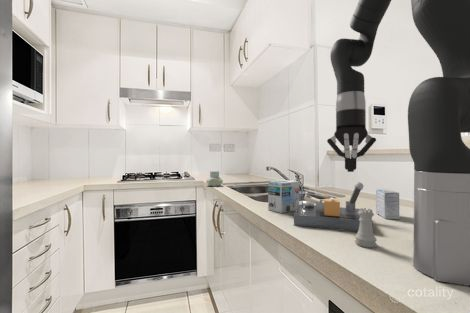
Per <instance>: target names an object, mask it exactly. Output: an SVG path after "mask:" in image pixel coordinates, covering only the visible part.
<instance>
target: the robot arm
mask: <svg viewBox="0 0 470 313" xmlns="http://www.w3.org/2000/svg"><path fill="white" fill-rule="evenodd" d="M410 1H411V2H410V3H411V15H412V19H413V20H412V21H413V23H414V26H415V27H416V29H417V31H418V33H419V34H420V35H421V37H422V38H423V39H424V40H425V42H426V43H427V45H428V46H429V48H430V49H431V50H432V51H433V53H434V54H435V56H436V57H437V59H438V61H439V63H440V67H441V72H442V76H435V77H430V78H426V79H425V80H423V81H422V82H420V83H419V84H418V85H417V86H416V87H415V88H414V89H413V92H412V93H411V96H410V98H409V100H408V107H407V130H408V145H409V146H408V147H409V148H408V149H409V154H410V156H411V158H412V161H413V167H414V168H413V169H414V170H413V241H412V242H413V252H412V254H413V259H412V260H413V261H412V262H413V267H415V269H416V270H417V271H419V272H420V273H423V274H424V275H427V276H428V277H431V278H433V279H434V280H435V281H437V282H444V283H449V284H456V285H462V284H463V286H469V285H470V147H468V146H467V145H466V144H465V143H464V141H463V139H462V133H463V134H464V133H467V134H468V133H470V0H410ZM391 2H392V0H358V2H357V5H356V7H355V9H354V12H353V14H352V17H351V19H350V23H349V27H350V29H351V30H352V31H354V32H356V33H358V34H359V38H358V39H355V38H339V39H337V40H336V41H335V42H334V43H333V45H332V47H331V49H330V56H329V57H330V61H331V62H330V63H331V67H332V68H333V70H332V71H333V73H334V76H335V80H336V95H337V96H336V101H335V111H336V112H335V120H336V121H335V131H334V133H333V135H332V136H330V138H327V140H326V142H327V144H328V145H329V146H330V147H331V149H333V151H334V152H335V153H336V154H337V155H338V156H339V157H342V158H344V169H345V170H346V171H347V172H348V173H349V172H350V173H353V172H354V171H356V170H357V159H358V158H360V157H363V156H364V155H365V154H366V153H367V151H369V149H370V148H371V147H372V146H373V145H374V143H376V141H377V139H376V137H373V136H371V135H370V134H369V133H368V130H367V128H366V119H367V118H366V113H367V112H366V96H365V76H364V74H363V72H361V71H358V70H355V69H354V68H353V67H362V66H363V65H365V64H366V63H367V62H368V61H369V59H370V58H371V55H372V52H373V49H374V43H375V40H376V36H377V33H378V28H379V25H380V24H381V22H382V20H383V18H384V16H385V14H386V12H387V10H388V8H389V7H390V4H391ZM364 140H365V141H364ZM337 141H338V142H339V143H340V145H341V146H342V147H343V150H341V149H340V148H339V147H338V146H337ZM363 141H364V143H365V145H364V146H363V147H362V148H361V149H360V150H359V151H358V148H359V146H360V145H361V144H362V142H363ZM350 148H351V150H350ZM343 151H344V152H343ZM350 152H351V153H350Z"/></svg>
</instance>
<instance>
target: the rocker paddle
mask: <svg viewBox="0 0 470 313" xmlns="http://www.w3.org/2000/svg"><path fill="white" fill-rule="evenodd" d="M303 200H304V201H310V202H313V203H314V205H316V202H324V201H322V200H323V199H322V200H319V198H317V197H313V196H312V195H311V194H305V195H304V197H303Z"/></svg>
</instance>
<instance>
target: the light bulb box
mask: <svg viewBox="0 0 470 313" xmlns="http://www.w3.org/2000/svg"><path fill="white" fill-rule="evenodd" d="M300 184H301V182H300V181H298V180H292V179H291V180H290V179H289V180H288V179H282V180H270V181H268V190H267V192H268V195H267V196H268V201H267V203H268V204H267V205H268V206H267V208H268V211H271V212H276V213H279V214H283V213H287V212H289V213H290V212H294V211H295V212H296V210H297V208H298V207H299V205H300V186H301V185H300Z"/></svg>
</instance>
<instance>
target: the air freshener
mask: <svg viewBox="0 0 470 313" xmlns="http://www.w3.org/2000/svg"><path fill="white" fill-rule="evenodd" d="M205 182H206V185H208V186H209V187H213V186H216V187H220V186H221V185H222V184H223V179H222V178H221V177H220V171H219V170H211V171H210V173H209V177H208V178H206V181H205Z"/></svg>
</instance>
